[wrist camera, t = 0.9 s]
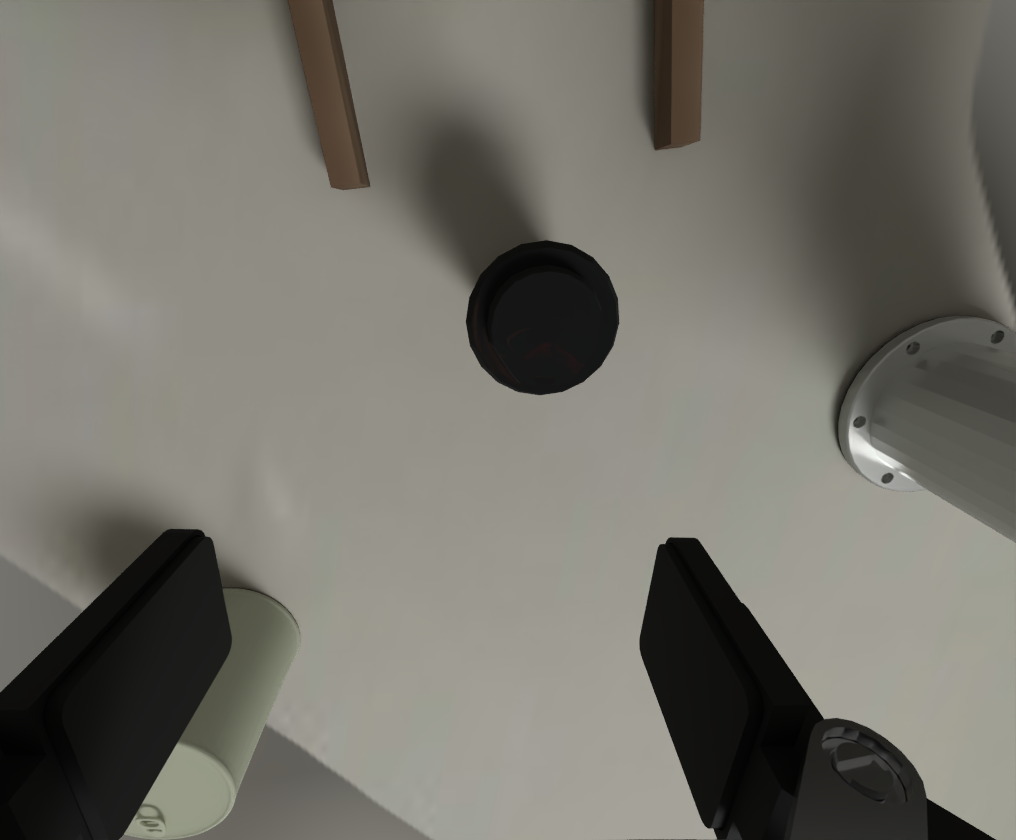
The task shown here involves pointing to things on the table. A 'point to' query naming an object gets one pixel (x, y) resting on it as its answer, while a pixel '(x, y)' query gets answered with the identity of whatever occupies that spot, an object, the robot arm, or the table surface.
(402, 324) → the table surface
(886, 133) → the table surface
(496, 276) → the coffee cup
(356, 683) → the table surface
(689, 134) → the bay
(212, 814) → the can
